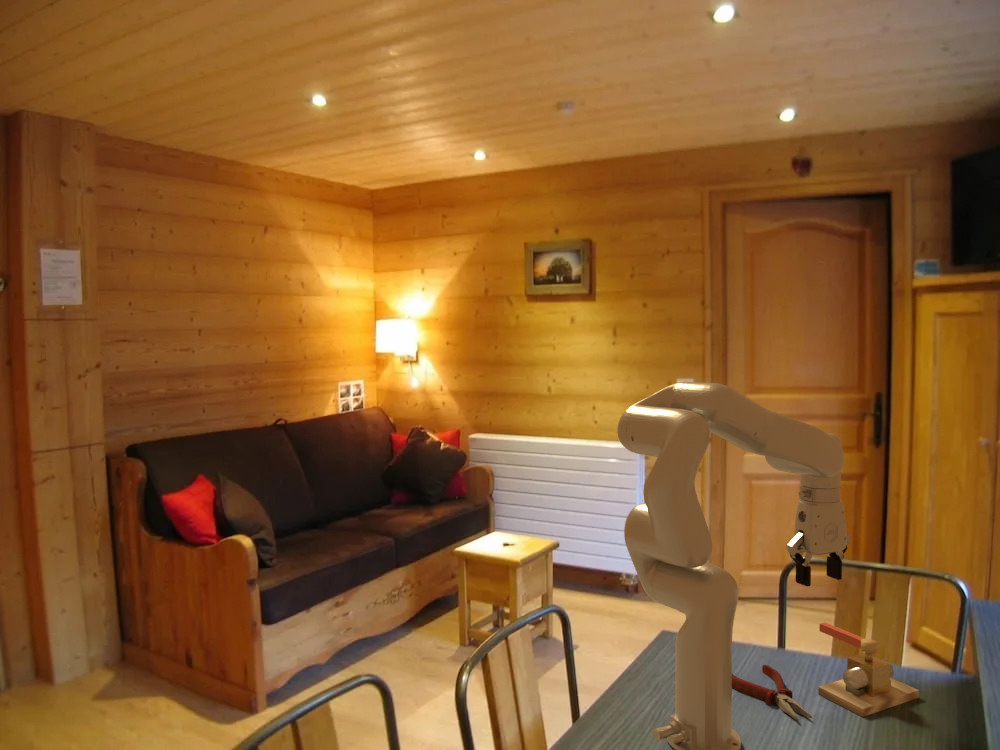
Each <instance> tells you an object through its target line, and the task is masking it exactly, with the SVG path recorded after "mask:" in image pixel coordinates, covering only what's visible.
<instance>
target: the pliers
mask: <svg viewBox="0 0 1000 750" xmlns="http://www.w3.org/2000/svg"><path fill="white" fill-rule="evenodd" d="M761 671H762V674H763V675H765V676H767V677H768V678H770V680H772V681H773V682H774V683H775V686H776V690H774V689H770V688H767V687H765V686H761V685H759V684H756V683H753V682H750V681H747V680H744V679H742V678H740V677H738V676H736V675H735V674H734V673H732V689H734V690H737V691H739V692H741V693H744V694H747V695H748V696H751V697H754V698H756V699H757V698H758V699H760V700H763V701H765V705H767V706H771V705H772V704H773V705H775V704H776V706H777V707H778V708H779V710H781V711H783V712H784V713H786V714H787V715H789V716H790V717H792V718H793V719H794V720H796V721H799V718H798V716H797V715H796V713H797V714H799V715H802V716H804V717H807V718H810V719H812V718H813V717H812V715H811V714H810V713H809V712H808V711H807V710H806V709H804V708H803V707H802V706H801V705H800V704H799V703H798V702H797V701H796V700H794V699H793V695H794V694H793V691H792V690H791V689H788V688H785V683H784V679H783V677H782V675H781V673H779V671H777V670H776V669H775V668H774V667H771V666H770V665H768V664H763V665H762V668H761Z"/></svg>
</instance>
